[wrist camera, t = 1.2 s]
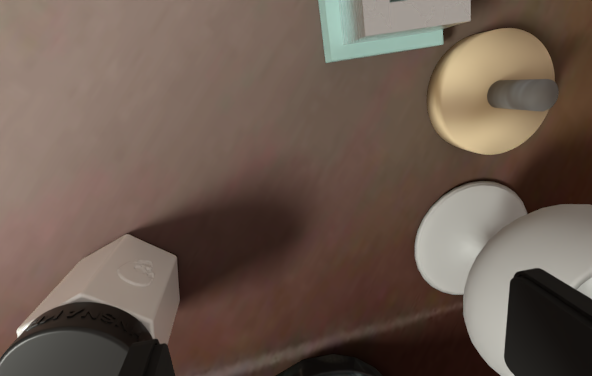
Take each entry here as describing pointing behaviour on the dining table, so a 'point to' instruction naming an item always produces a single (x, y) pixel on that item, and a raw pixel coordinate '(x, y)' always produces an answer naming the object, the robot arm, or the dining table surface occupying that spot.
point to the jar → (99, 313)
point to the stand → (345, 52)
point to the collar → (398, 18)
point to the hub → (491, 91)
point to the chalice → (499, 254)
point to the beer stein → (331, 367)
